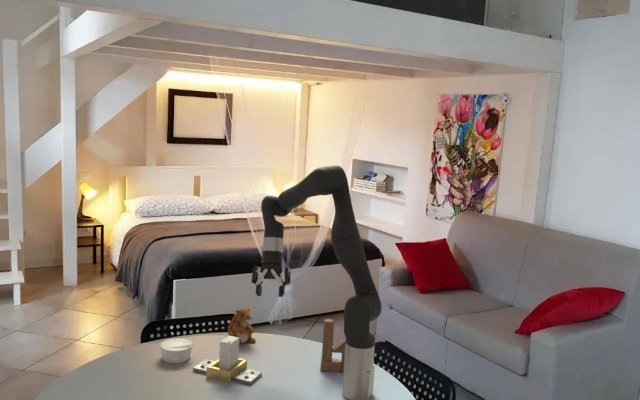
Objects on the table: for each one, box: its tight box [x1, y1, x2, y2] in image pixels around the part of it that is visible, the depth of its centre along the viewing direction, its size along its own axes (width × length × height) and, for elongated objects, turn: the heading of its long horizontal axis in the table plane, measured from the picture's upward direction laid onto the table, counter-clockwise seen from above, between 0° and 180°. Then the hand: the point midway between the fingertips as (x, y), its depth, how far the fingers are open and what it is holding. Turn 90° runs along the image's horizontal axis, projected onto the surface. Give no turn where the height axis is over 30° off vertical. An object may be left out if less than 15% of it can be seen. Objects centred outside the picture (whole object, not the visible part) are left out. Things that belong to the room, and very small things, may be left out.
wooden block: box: [320, 318, 346, 374], centre depth 190 cm, size 4×11×18 cm, turn 89°
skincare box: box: [218, 335, 240, 371], centre depth 183 cm, size 6×4×12 cm
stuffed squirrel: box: [227, 308, 256, 344], centre depth 213 cm, size 10×14×13 cm
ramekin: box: [159, 337, 194, 364], centre depth 193 cm, size 11×11×5 cm
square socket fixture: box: [192, 357, 263, 386], centre depth 184 cm, size 22×11×4 cm, turn 69°
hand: (269, 296), depth 193 cm, fingers open, 8 cm apart
